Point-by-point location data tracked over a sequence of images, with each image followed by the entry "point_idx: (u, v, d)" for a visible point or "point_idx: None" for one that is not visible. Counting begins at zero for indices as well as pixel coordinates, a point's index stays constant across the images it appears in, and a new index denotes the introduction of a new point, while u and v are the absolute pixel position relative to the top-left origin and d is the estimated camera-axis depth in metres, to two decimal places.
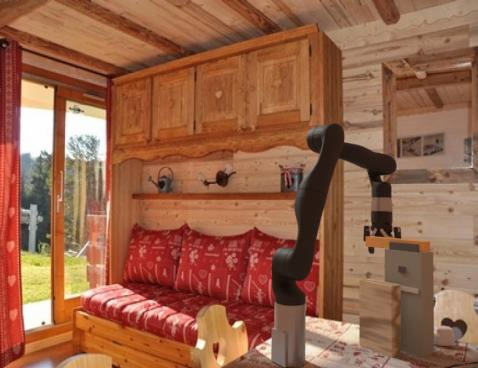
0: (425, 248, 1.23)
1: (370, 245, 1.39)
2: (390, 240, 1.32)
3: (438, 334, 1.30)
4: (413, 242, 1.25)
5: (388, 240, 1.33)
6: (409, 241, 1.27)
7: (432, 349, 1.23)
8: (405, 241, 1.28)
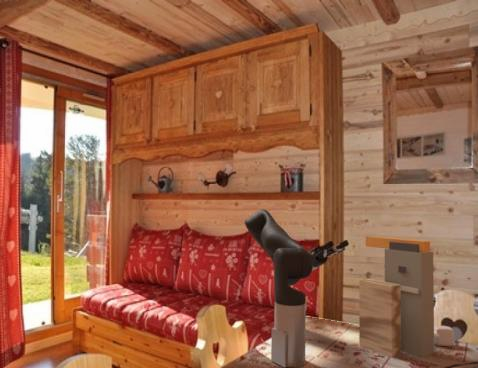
0: (425, 248, 1.23)
1: (370, 245, 1.39)
2: (390, 240, 1.32)
3: (438, 334, 1.30)
4: (413, 242, 1.25)
5: (388, 240, 1.33)
6: (409, 241, 1.27)
7: (432, 349, 1.23)
8: (405, 241, 1.28)
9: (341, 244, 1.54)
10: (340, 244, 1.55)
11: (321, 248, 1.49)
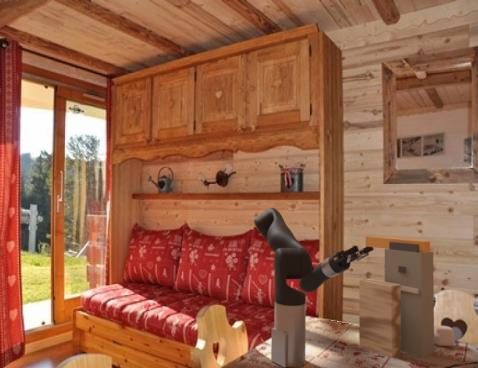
0: (425, 248, 1.23)
1: (370, 245, 1.39)
2: (390, 240, 1.32)
3: (438, 334, 1.30)
4: (413, 242, 1.25)
5: (388, 240, 1.33)
6: (409, 241, 1.27)
7: (432, 349, 1.23)
8: (405, 241, 1.28)
9: (365, 249, 1.47)
10: (364, 249, 1.47)
11: (345, 253, 1.42)
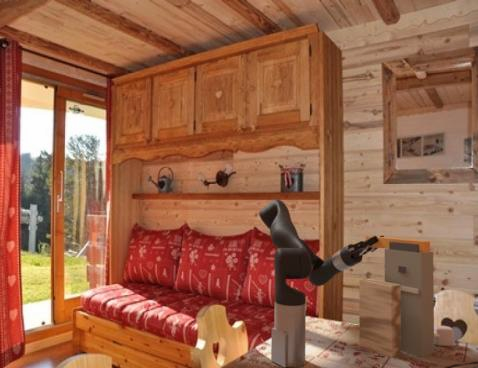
0: (425, 248, 1.23)
1: None
2: (390, 240, 1.32)
3: (438, 334, 1.30)
4: (413, 242, 1.25)
5: (388, 240, 1.33)
6: (409, 241, 1.27)
7: (432, 349, 1.23)
8: (405, 241, 1.28)
9: None
10: None
11: (364, 244, 1.38)
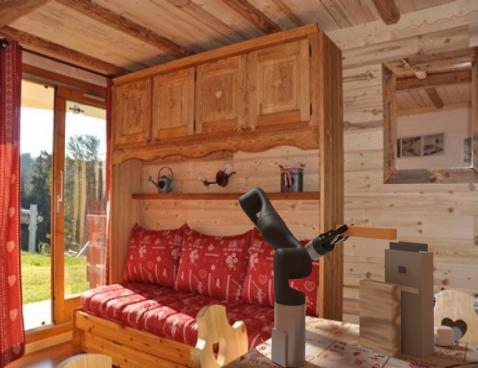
0: (392, 235, 1.23)
1: (340, 234, 1.39)
2: (359, 228, 1.33)
3: (438, 334, 1.30)
4: (380, 230, 1.26)
5: (357, 228, 1.34)
6: (376, 229, 1.27)
7: (432, 349, 1.23)
8: (373, 229, 1.28)
9: None
10: None
11: (334, 232, 1.38)
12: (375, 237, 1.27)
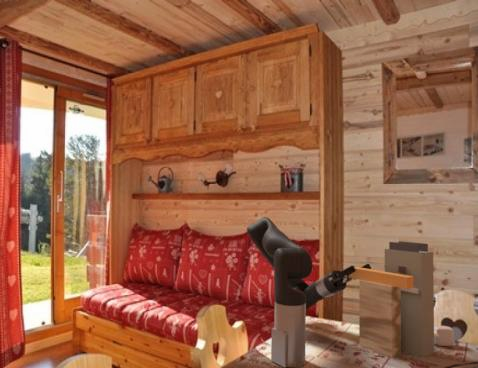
0: (408, 284, 1.18)
1: (353, 277, 1.34)
2: (373, 273, 1.27)
3: (438, 334, 1.30)
4: (396, 277, 1.21)
5: (371, 273, 1.28)
6: (392, 276, 1.22)
7: (432, 349, 1.23)
8: (388, 275, 1.23)
9: None
10: None
11: (341, 273, 1.32)
12: (390, 284, 1.22)
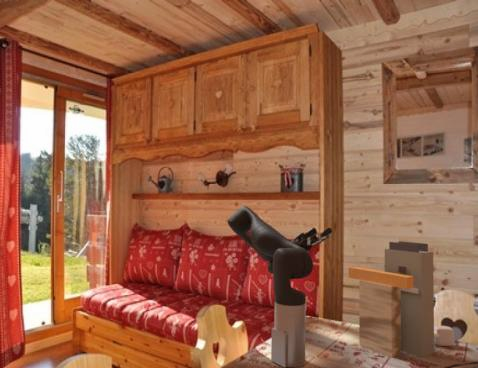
0: (408, 284, 1.18)
1: (353, 277, 1.34)
2: (373, 273, 1.27)
3: (438, 334, 1.30)
4: (396, 277, 1.21)
5: (371, 273, 1.28)
6: (392, 276, 1.22)
7: (432, 349, 1.23)
8: (388, 275, 1.23)
9: (325, 232, 1.56)
10: (324, 232, 1.56)
11: (304, 235, 1.51)
12: (390, 284, 1.22)
